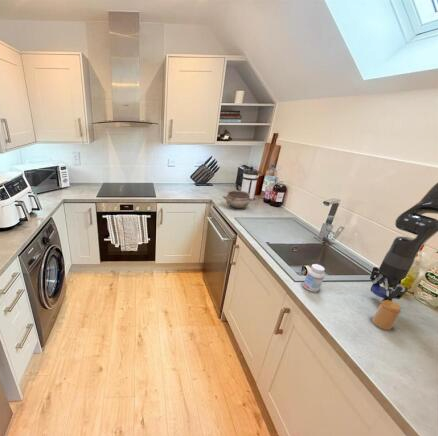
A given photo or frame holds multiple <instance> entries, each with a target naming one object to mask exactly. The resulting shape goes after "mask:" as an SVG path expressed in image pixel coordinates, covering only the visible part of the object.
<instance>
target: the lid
mask: <svg viewBox="0 0 438 436" xmlns="http://www.w3.org/2000/svg"><path fill="white" fill-rule="evenodd" d="M371 287H372V286H371ZM370 290H371V291H372V292H371V291H370V292H371V293H373V294H374V295H376V297H379V298H382V299H383V298H384V296H385V295H386V290H385V286H382V285H380V286H377V285H375V286H373V287H372V289H371V288H370ZM390 293H391V294H392V291H390Z"/></svg>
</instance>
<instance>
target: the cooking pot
mask: <svg viewBox="0 0 438 436" xmlns="http://www.w3.org/2000/svg"><path fill="white" fill-rule="evenodd" d="M249 196H250V194H249V193H248V192H245V191H238V190H237V189H234V190H228V191H227V195H226V196H224V195H222V198H223V199H224V200H225V201H226V203H227V205H229V207H231V208H233V209H237V210H239V209H243V208H245V207H248V205H250V202H253V201H254V199H255V197H254V198H250V197H249Z"/></svg>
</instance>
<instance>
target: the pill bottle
mask: <svg viewBox="0 0 438 436" xmlns="http://www.w3.org/2000/svg"><path fill="white" fill-rule="evenodd" d="M325 269H326V268H325V267H324V266H322V265H321V264H319V263H313V264H312V265H311V267H310V268H308V270H307V273H306V274H305V275H306V276H305V278H304V282H303V284H302V285H303V287H304V289H306V290H308V291H310V292H315V293H317V292H319V291H320V289H321V286H322V285H323V281H324V278H325Z"/></svg>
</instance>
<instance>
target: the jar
mask: <svg viewBox="0 0 438 436" xmlns="http://www.w3.org/2000/svg"><path fill="white" fill-rule="evenodd" d="M401 310H402V306H401V305H400V304H399V303H397V302H395V301H393V300H392V301H389V300H384V301H383V302H381V303H380V304H379V306H378V308H377V310H376V312H375V314H374V315H373V318H372V323H373V324H374V325H375V326H376V327H378V328H380V329H382V330H386V331H390V330H392V328H393V327H394V324H395V323H396V321H397V319H398V318H399V316H400V314H401V313H402V312H401Z"/></svg>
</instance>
